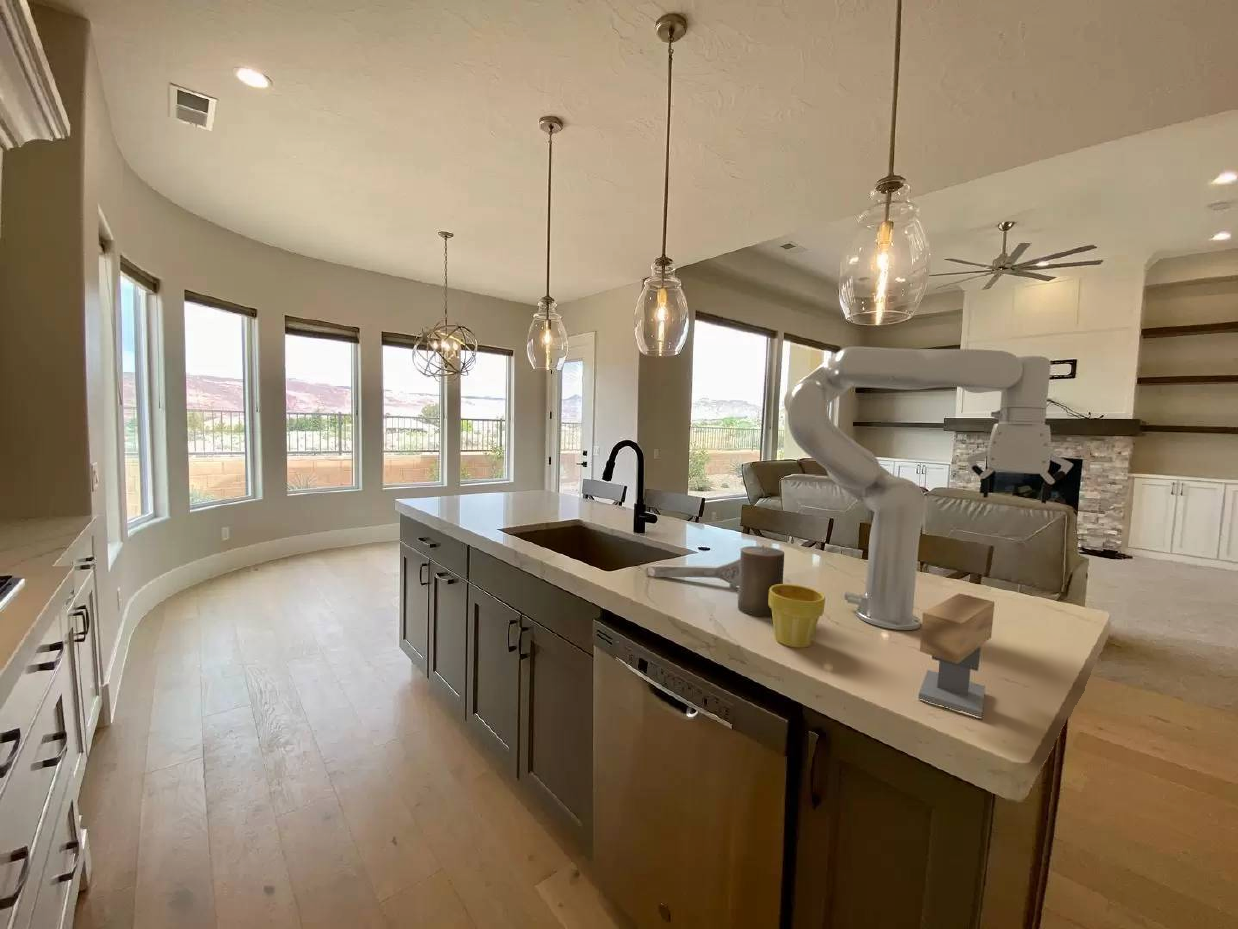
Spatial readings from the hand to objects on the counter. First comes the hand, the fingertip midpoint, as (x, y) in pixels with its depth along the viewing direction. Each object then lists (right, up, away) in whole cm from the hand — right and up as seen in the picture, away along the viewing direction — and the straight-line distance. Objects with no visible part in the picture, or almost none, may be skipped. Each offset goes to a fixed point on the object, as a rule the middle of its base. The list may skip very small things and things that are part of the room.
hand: (1013, 499), depth 107 cm
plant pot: (-48, -27, -7) cm, 56 cm away
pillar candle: (-51, -26, +10) cm, 58 cm away
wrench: (-61, -24, +29) cm, 72 cm away
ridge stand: (-30, -29, -26) cm, 49 cm away
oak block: (-29, -21, -27) cm, 45 cm away
